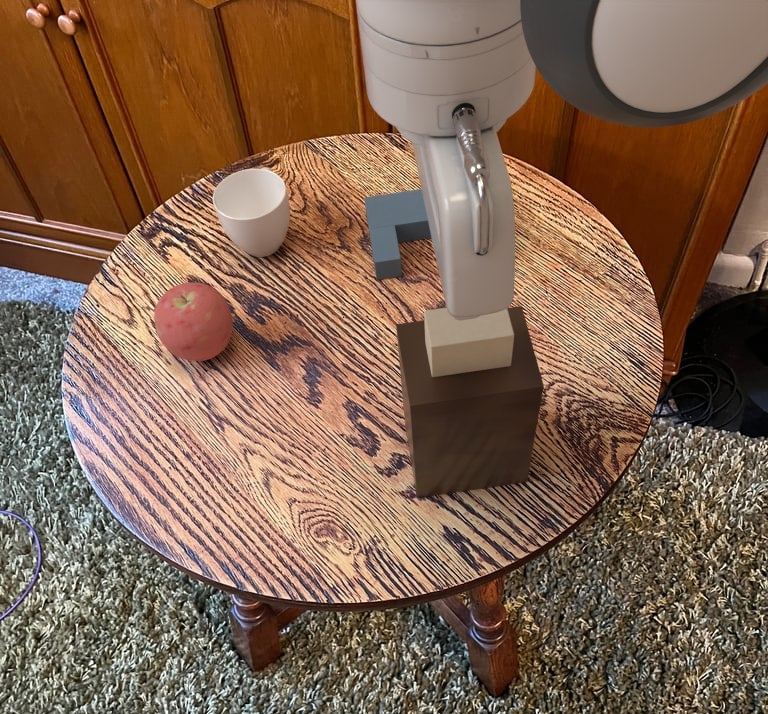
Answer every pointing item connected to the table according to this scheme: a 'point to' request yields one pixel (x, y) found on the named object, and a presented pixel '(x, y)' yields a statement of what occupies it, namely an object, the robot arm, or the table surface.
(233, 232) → the cup
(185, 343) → the apple
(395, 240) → the u-shaped bracket
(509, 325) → the beige block
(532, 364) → the block
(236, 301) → the table surface
